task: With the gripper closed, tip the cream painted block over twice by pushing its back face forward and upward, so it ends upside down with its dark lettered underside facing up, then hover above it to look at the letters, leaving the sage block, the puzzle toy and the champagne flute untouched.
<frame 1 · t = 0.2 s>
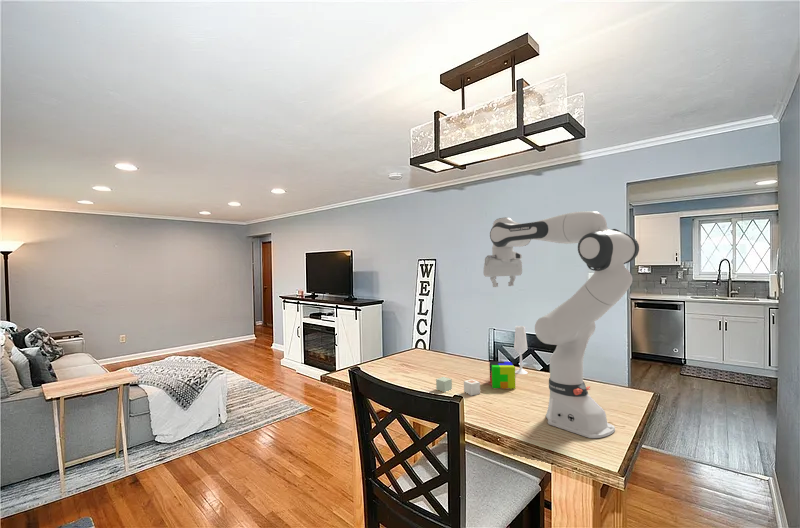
hand: (503, 286, 161), 47 cm above the table, tool pointing down, fingers open, 8 cm apart
champagne flute: (521, 372, 192), on the table
puzzle toy: (502, 385, 172), on the table
letter block: (472, 393, 162), on the table
sage block: (444, 390, 167), on the table
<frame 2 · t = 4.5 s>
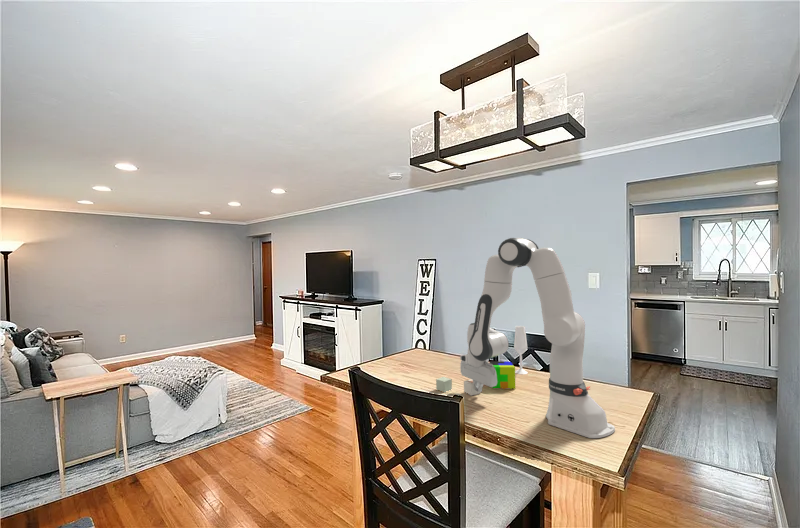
hand: (478, 391, 158), 2 cm above the table, tool pointing down, fingers closed
letter block: (472, 393, 162), on the table, touching gripper
everything else where it was.
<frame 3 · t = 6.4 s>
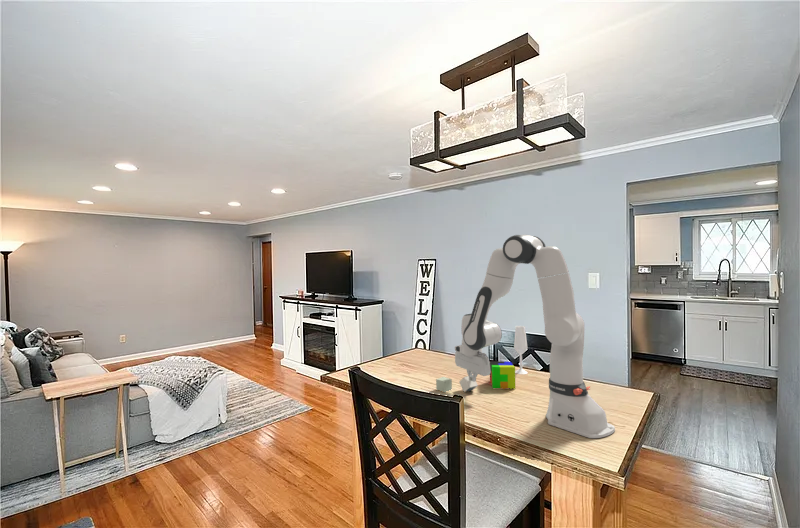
hand: (472, 380, 162), 6 cm above the table, tool pointing down, fingers closed
letter block: (470, 389, 163), point 1 cm above the table, tilted 41°, touching gripper
everything else where it was.
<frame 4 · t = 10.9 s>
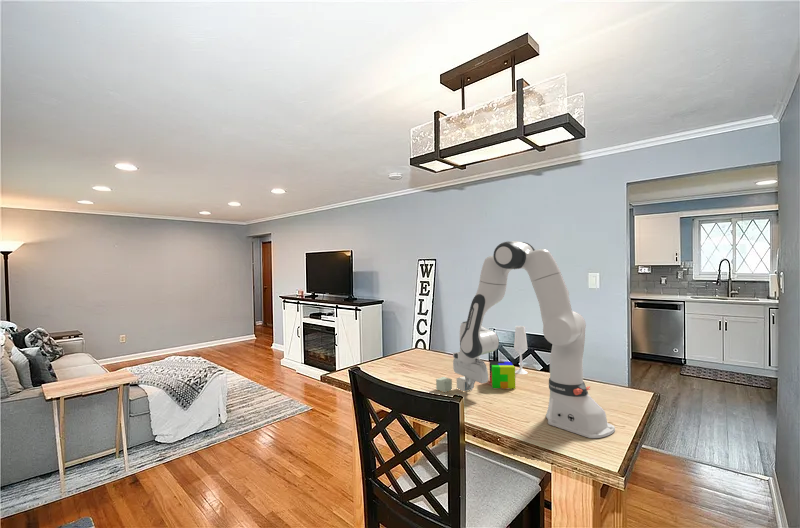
hand: (470, 387, 163), 2 cm above the table, tool pointing down, fingers closed
letter block: (468, 385, 165), point 2 cm above the table, tilted 90°, touching gripper
everything else where it was.
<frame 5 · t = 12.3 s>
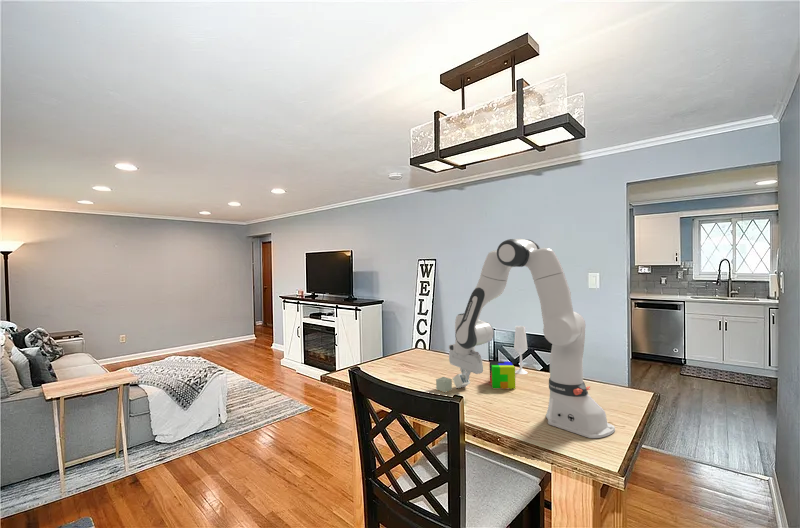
hand: (465, 378, 166), 5 cm above the table, tool pointing down, fingers closed
letter block: (464, 378, 167), point 5 cm above the table, tilted 126°
everything else where it was.
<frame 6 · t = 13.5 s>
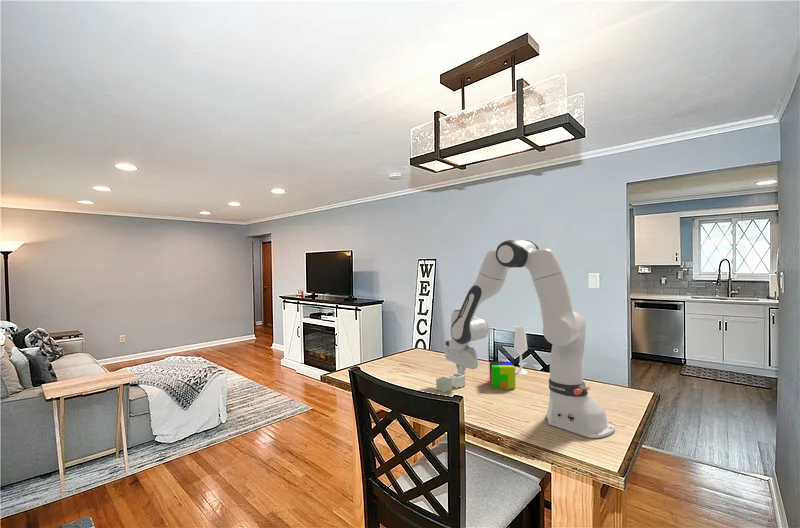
hand: (461, 374, 169), 7 cm above the table, tool pointing down, fingers closed
letter block: (457, 375, 172), point 5 cm above the table, tilted 179°
everything else where it was.
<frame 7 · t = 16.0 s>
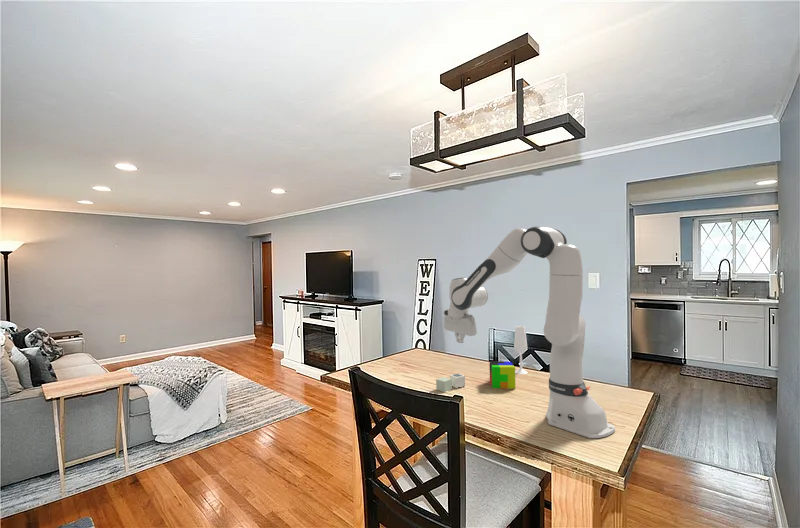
hand: (459, 342, 169), 21 cm above the table, tool pointing down, fingers closed
nothing on the table moved.
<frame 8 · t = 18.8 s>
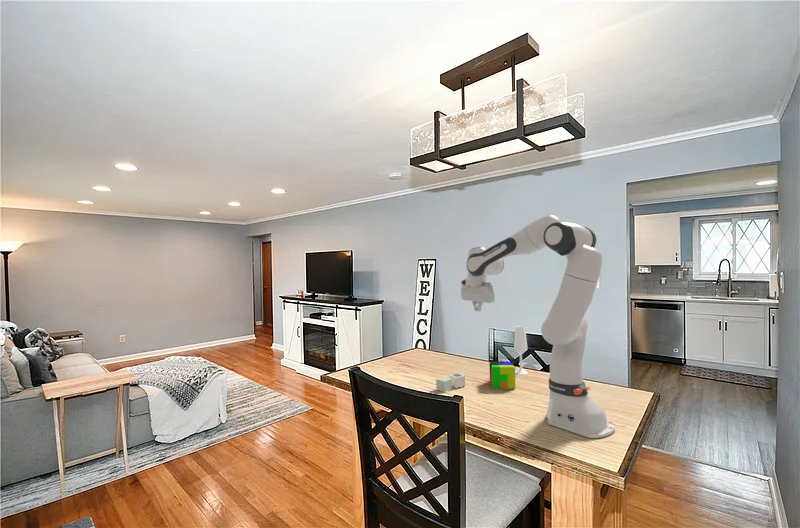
hand: (477, 310, 173), 35 cm above the table, tool pointing down, fingers closed
nothing on the table moved.
at the end: letter block tilted 180°; letter block inside the target area (0.3 cm from its centre), point 5.2 cm above the table; sage block moved 0.1 cm from its start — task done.
